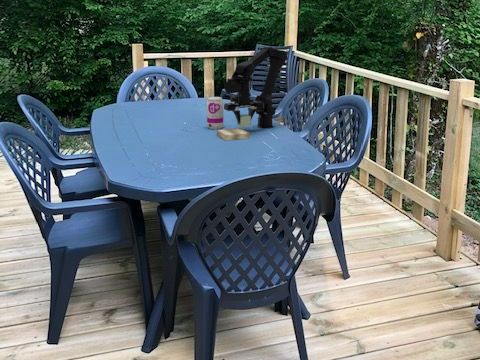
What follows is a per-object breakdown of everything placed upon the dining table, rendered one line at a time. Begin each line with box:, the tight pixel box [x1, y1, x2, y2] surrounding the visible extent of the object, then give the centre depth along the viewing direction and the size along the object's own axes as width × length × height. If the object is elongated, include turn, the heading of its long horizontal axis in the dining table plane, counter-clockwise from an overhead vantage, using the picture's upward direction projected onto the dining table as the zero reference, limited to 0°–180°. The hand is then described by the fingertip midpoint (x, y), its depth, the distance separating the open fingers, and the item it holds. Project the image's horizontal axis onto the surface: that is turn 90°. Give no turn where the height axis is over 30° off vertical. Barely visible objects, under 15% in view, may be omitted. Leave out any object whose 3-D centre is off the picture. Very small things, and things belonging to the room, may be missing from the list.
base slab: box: [216, 127, 251, 142], centre depth 268 cm, size 12×12×3 cm
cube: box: [237, 113, 252, 128], centre depth 277 cm, size 5×5×5 cm
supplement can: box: [206, 96, 224, 130], centre depth 285 cm, size 8×8×15 cm
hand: (244, 123), depth 277 cm, fingers closed on cube, 5 cm apart
